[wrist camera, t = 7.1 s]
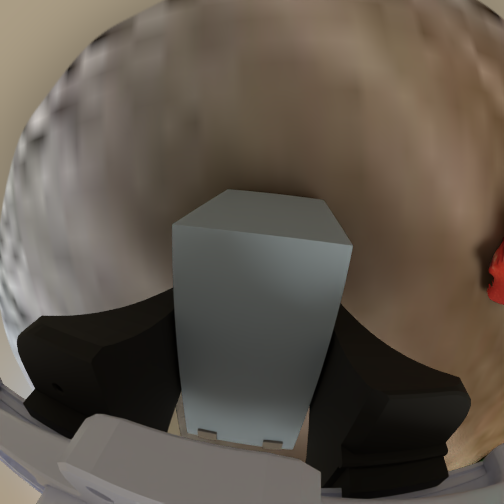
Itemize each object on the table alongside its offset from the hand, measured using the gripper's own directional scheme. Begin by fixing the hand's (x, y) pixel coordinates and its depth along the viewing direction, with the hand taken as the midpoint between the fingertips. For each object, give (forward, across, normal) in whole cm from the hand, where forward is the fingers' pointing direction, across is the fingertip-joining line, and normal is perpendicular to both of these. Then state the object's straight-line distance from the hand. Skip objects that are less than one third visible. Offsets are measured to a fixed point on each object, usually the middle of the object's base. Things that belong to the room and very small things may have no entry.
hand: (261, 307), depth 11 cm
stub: (+2, 0, 0) cm, 2 cm away
